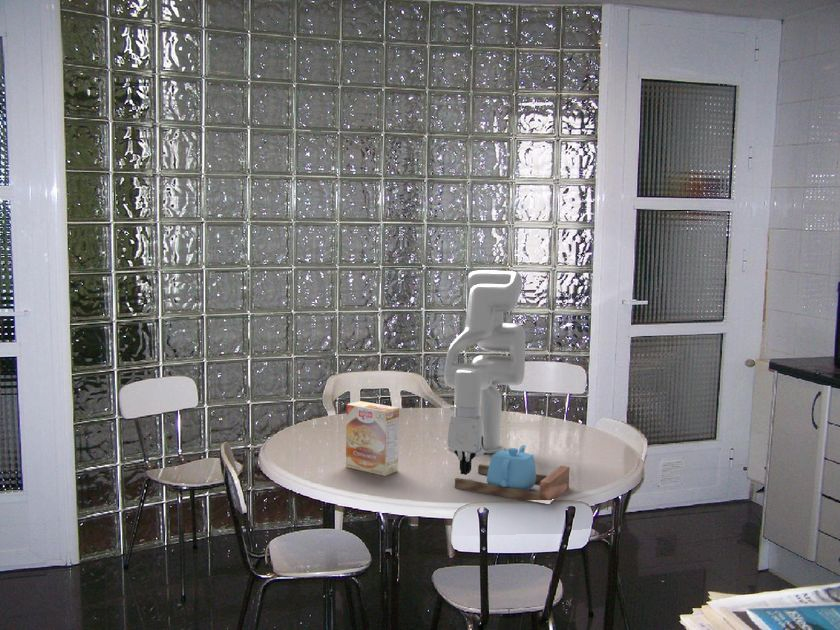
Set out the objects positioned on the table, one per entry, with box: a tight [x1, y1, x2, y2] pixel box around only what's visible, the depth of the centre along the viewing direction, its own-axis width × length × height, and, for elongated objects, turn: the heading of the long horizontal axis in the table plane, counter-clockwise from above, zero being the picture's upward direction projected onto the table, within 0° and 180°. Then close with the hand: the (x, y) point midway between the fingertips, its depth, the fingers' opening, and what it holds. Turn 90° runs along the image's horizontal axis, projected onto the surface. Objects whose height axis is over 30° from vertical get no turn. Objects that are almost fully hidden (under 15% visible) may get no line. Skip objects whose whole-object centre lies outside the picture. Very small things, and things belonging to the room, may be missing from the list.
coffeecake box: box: [345, 400, 400, 477], centre depth 237 cm, size 15×7×20 cm, turn 56°
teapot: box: [486, 444, 537, 491], centre depth 222 cm, size 12×18×12 cm
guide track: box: [454, 463, 570, 501], centre depth 223 cm, size 28×17×6 cm, turn 62°
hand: (465, 473), depth 230 cm, fingers closed
